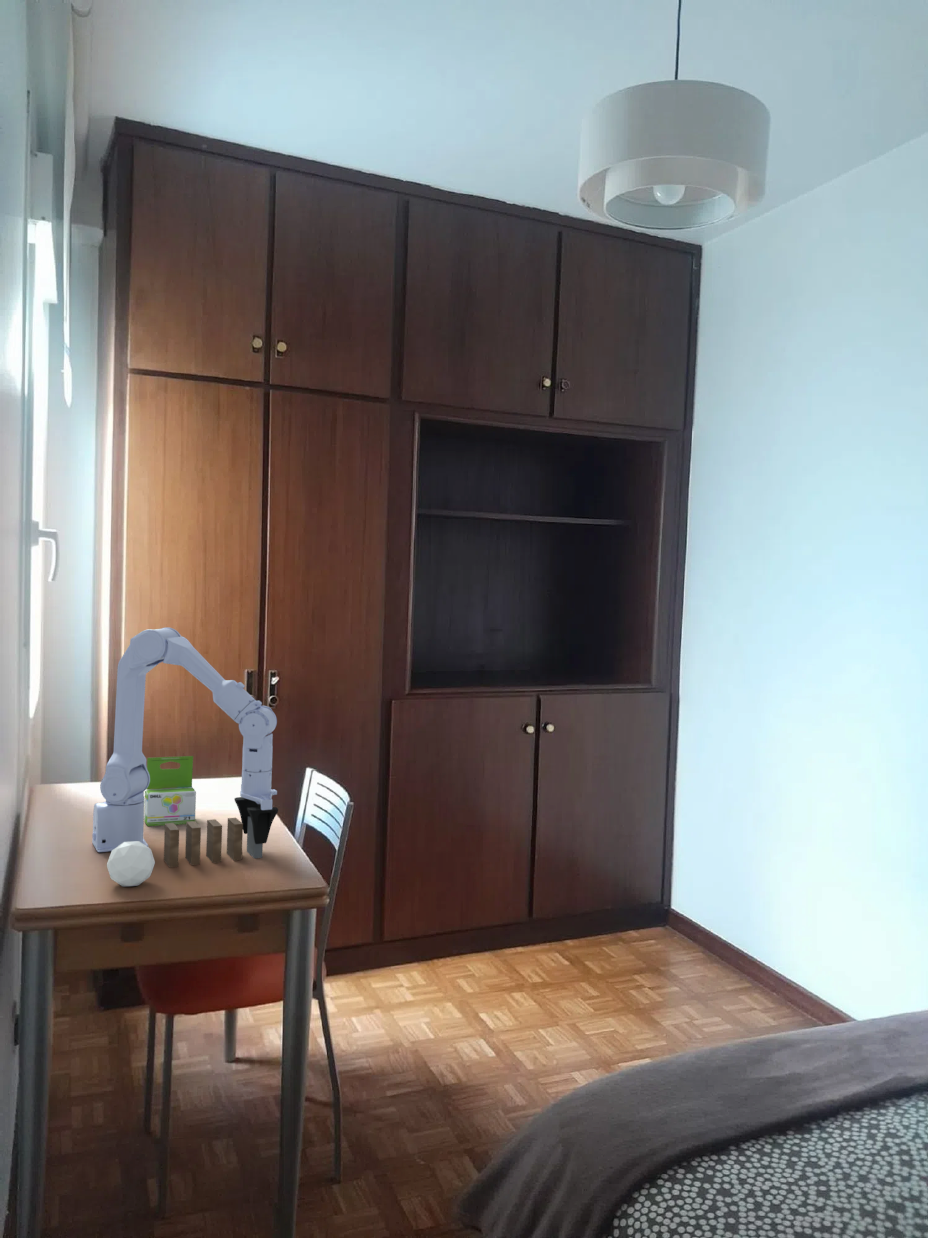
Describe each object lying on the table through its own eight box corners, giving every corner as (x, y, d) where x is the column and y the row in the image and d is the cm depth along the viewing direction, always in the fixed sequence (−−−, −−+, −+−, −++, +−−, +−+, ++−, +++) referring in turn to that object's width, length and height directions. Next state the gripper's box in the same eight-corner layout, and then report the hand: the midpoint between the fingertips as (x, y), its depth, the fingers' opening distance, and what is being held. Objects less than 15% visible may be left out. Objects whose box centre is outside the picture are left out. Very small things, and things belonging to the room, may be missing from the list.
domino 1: (169, 867, 178) (170, 830, 178) (163, 860, 183) (164, 823, 182) (178, 866, 179) (179, 829, 179) (172, 859, 183) (173, 823, 183)
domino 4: (233, 860, 184) (234, 824, 184) (226, 853, 188) (227, 818, 188) (241, 859, 185) (242, 823, 185) (234, 852, 189) (235, 817, 189)
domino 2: (191, 865, 180) (192, 828, 180) (185, 858, 185) (186, 822, 184) (199, 864, 181) (200, 827, 181) (193, 857, 185) (194, 821, 185)
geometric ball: (142, 899, 168) (169, 866, 167) (103, 893, 163) (129, 858, 162) (131, 868, 174) (157, 836, 172) (92, 861, 168) (118, 827, 167)
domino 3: (212, 863, 182) (213, 826, 182) (206, 855, 186) (207, 820, 186) (221, 862, 183) (222, 825, 183) (214, 854, 187) (215, 819, 187)
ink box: (146, 827, 205) (147, 762, 205) (143, 820, 210) (145, 757, 210) (195, 823, 210) (197, 760, 209) (192, 817, 215) (193, 755, 214)
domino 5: (254, 850, 191) (255, 816, 191) (262, 857, 187) (263, 822, 186) (246, 851, 190) (247, 816, 190) (254, 858, 186) (255, 822, 186)
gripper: (288, 775, 183) (286, 845, 184) (265, 761, 196) (263, 827, 197) (252, 778, 180) (250, 849, 181) (231, 763, 193) (229, 830, 193)
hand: (254, 838), depth 188 cm, fingers open, 7 cm apart
